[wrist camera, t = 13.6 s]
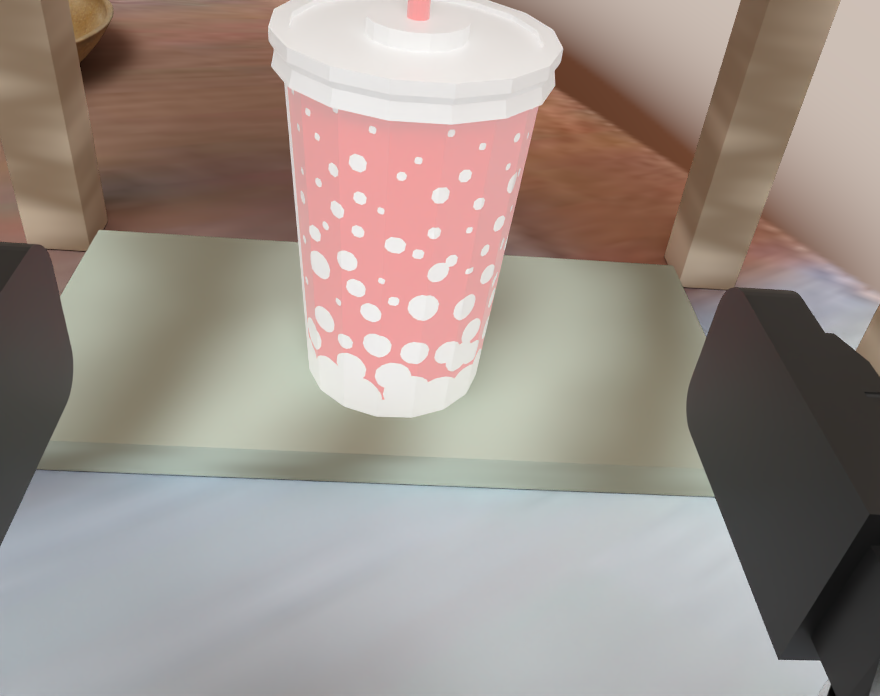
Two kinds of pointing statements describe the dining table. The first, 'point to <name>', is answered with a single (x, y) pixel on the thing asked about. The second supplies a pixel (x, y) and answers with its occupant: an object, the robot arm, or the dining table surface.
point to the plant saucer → (89, 23)
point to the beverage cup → (405, 183)
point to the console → (283, 319)
